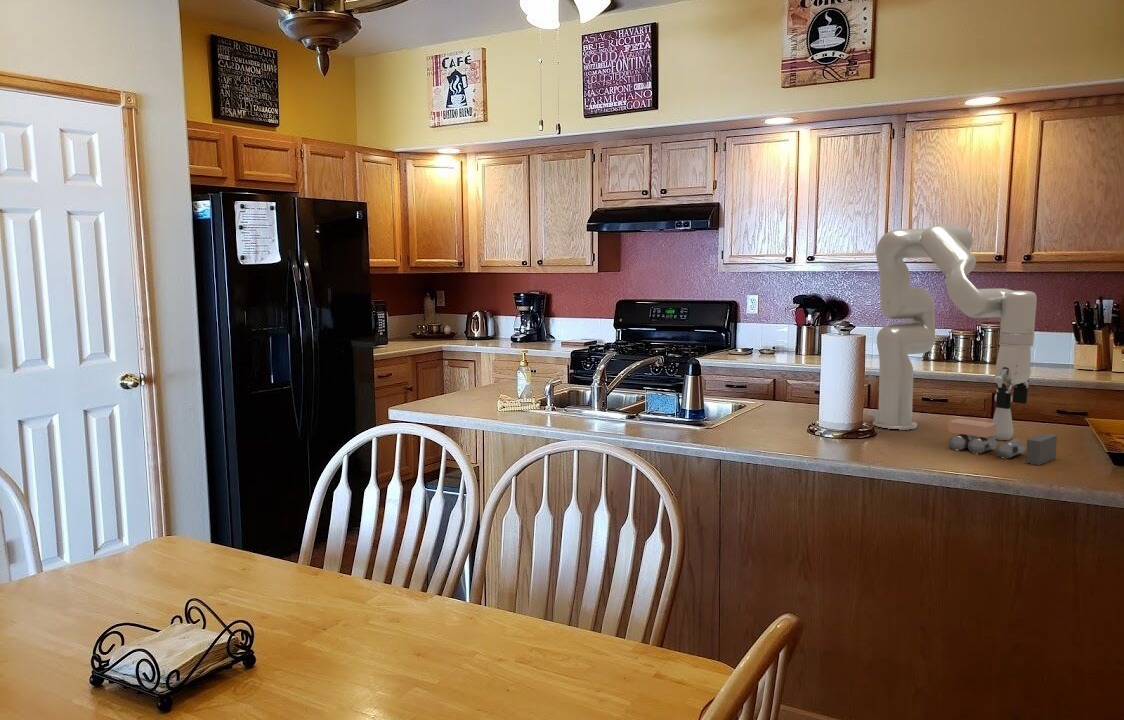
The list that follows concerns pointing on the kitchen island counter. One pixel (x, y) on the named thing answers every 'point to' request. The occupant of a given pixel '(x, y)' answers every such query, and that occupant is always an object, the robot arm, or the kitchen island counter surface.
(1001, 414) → the salt shaker
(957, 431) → the terracotta slab
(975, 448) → the front steel roller
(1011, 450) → the loose steel roller
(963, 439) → the rear steel roller
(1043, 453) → the rubber block
